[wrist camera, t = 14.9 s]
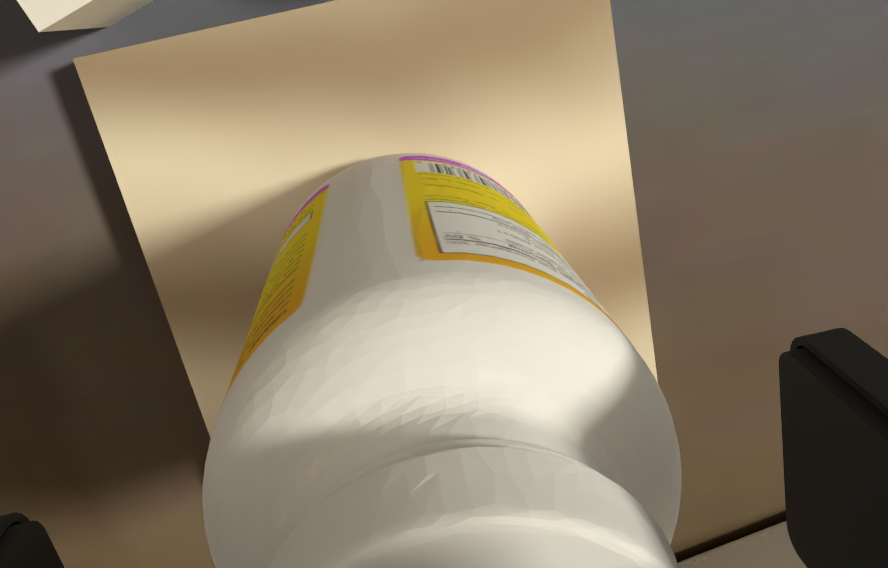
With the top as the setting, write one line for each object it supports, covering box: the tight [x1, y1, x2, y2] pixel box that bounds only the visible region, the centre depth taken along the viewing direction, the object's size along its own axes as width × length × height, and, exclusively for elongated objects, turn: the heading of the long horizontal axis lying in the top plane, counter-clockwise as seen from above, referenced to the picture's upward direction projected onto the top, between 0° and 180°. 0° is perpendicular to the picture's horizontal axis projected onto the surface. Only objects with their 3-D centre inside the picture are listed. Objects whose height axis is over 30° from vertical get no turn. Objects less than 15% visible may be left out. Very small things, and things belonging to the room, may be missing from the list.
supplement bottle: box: [202, 153, 682, 568], centre depth 13 cm, size 7×7×13 cm
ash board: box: [73, 0, 658, 438], centre depth 20 cm, size 14×12×1 cm
